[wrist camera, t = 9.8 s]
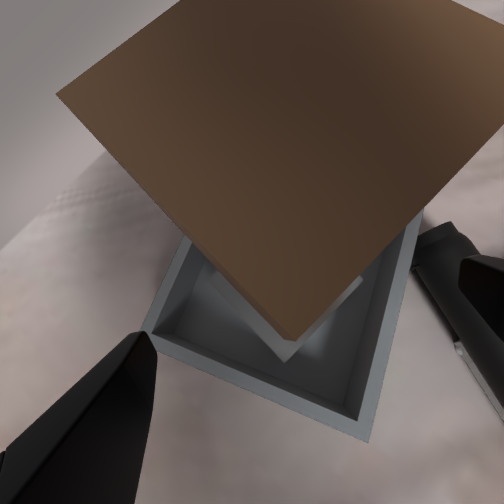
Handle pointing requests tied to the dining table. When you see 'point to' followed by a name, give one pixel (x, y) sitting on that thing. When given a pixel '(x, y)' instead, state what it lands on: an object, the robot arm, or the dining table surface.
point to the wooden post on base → (296, 135)
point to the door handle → (461, 306)
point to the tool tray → (307, 356)
